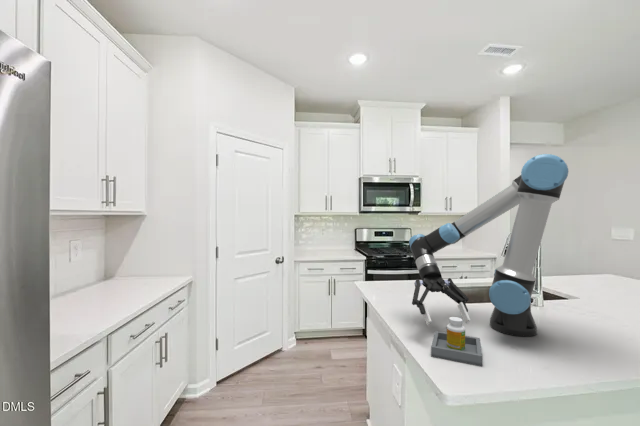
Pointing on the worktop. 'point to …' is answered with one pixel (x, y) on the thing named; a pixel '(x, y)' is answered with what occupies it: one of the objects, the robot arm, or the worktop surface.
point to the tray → (468, 356)
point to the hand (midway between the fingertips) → (448, 322)
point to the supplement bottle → (456, 334)
